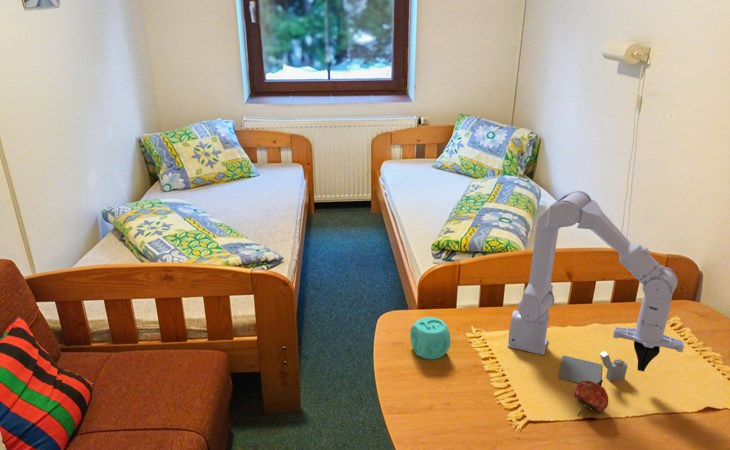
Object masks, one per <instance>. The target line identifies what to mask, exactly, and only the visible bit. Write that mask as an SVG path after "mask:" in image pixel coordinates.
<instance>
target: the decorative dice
mask: <svg viewBox="0 0 730 450" xmlns="http://www.w3.org/2000/svg"><path fill="white" fill-rule="evenodd" d="M449 330H450V329H449V328H448V326H447V324H446V323H445V321H444V320H442V319H441V318H438V317H433V316H427V317H421V318H419V319H417V321H415V322H414V323H413V324H412V325H411V328H410V332H409V333H410V334H409V336H410V343H411V346H412V349H413V351H414V353H415V355H417V356H418V357H420V358H422V359H425V360H437V359H440V358H441V357H443V356H444V355H445V354H446V353H447V352H448V351H449V349H450V347H451V334H450V331H449Z"/></svg>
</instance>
